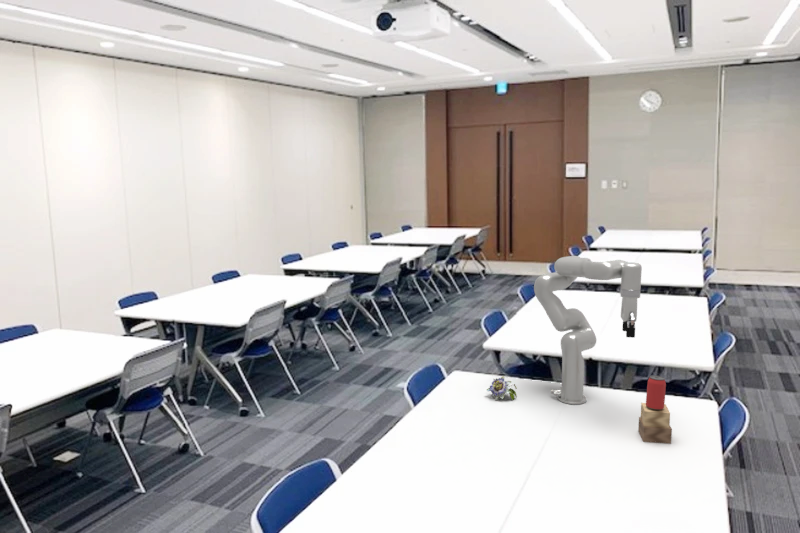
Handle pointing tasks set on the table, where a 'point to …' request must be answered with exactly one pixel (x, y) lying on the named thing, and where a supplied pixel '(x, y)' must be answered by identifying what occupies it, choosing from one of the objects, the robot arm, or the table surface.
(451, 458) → the table surface
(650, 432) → the walnut block
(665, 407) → the oak block
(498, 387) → the passion flower
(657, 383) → the beer can
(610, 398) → the table surface
